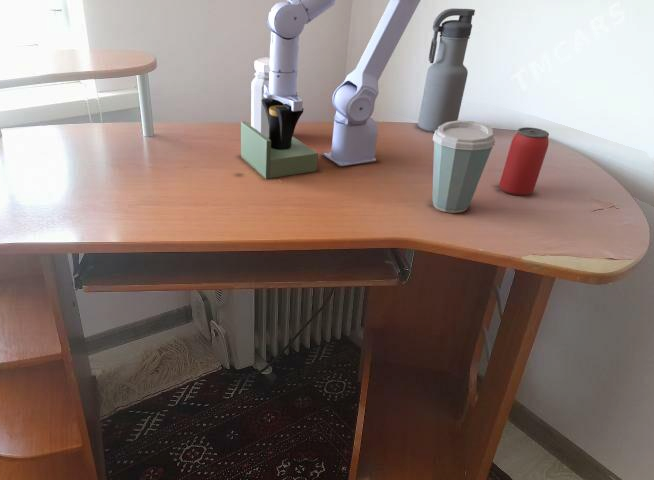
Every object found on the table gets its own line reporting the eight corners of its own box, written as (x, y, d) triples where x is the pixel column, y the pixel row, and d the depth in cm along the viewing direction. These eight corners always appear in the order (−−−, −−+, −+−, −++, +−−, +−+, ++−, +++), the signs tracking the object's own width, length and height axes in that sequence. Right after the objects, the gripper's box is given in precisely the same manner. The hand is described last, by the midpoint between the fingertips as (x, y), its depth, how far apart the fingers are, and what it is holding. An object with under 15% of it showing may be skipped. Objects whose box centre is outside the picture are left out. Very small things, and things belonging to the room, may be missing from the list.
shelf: (288, 150, 128) (289, 116, 124) (316, 171, 118) (319, 134, 113) (240, 156, 124) (240, 121, 120) (265, 178, 114) (266, 141, 109)
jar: (290, 144, 132) (294, 65, 122) (250, 143, 132) (251, 64, 122) (289, 132, 140) (293, 56, 130) (251, 131, 140) (252, 56, 130)
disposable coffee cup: (469, 223, 98) (490, 141, 89) (411, 209, 103) (426, 129, 94) (483, 203, 105) (504, 125, 97) (428, 190, 110) (444, 115, 101)
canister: (285, 140, 122) (287, 104, 117) (296, 148, 118) (298, 110, 113) (264, 143, 120) (265, 106, 115) (274, 151, 116) (275, 112, 112)
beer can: (531, 186, 112) (550, 128, 106) (533, 199, 107) (553, 139, 100) (497, 182, 114) (514, 124, 107) (498, 194, 109) (515, 134, 102)
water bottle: (417, 132, 141) (439, 11, 125) (414, 121, 149) (434, 6, 133) (457, 134, 140) (485, 12, 124) (452, 123, 148) (478, 7, 132)
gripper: (251, 64, 114) (250, 128, 122) (280, 79, 103) (278, 149, 111) (281, 61, 117) (279, 125, 124) (313, 76, 106) (308, 145, 113)
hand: (280, 136), depth 118 cm, fingers closed on canister, 5 cm apart
